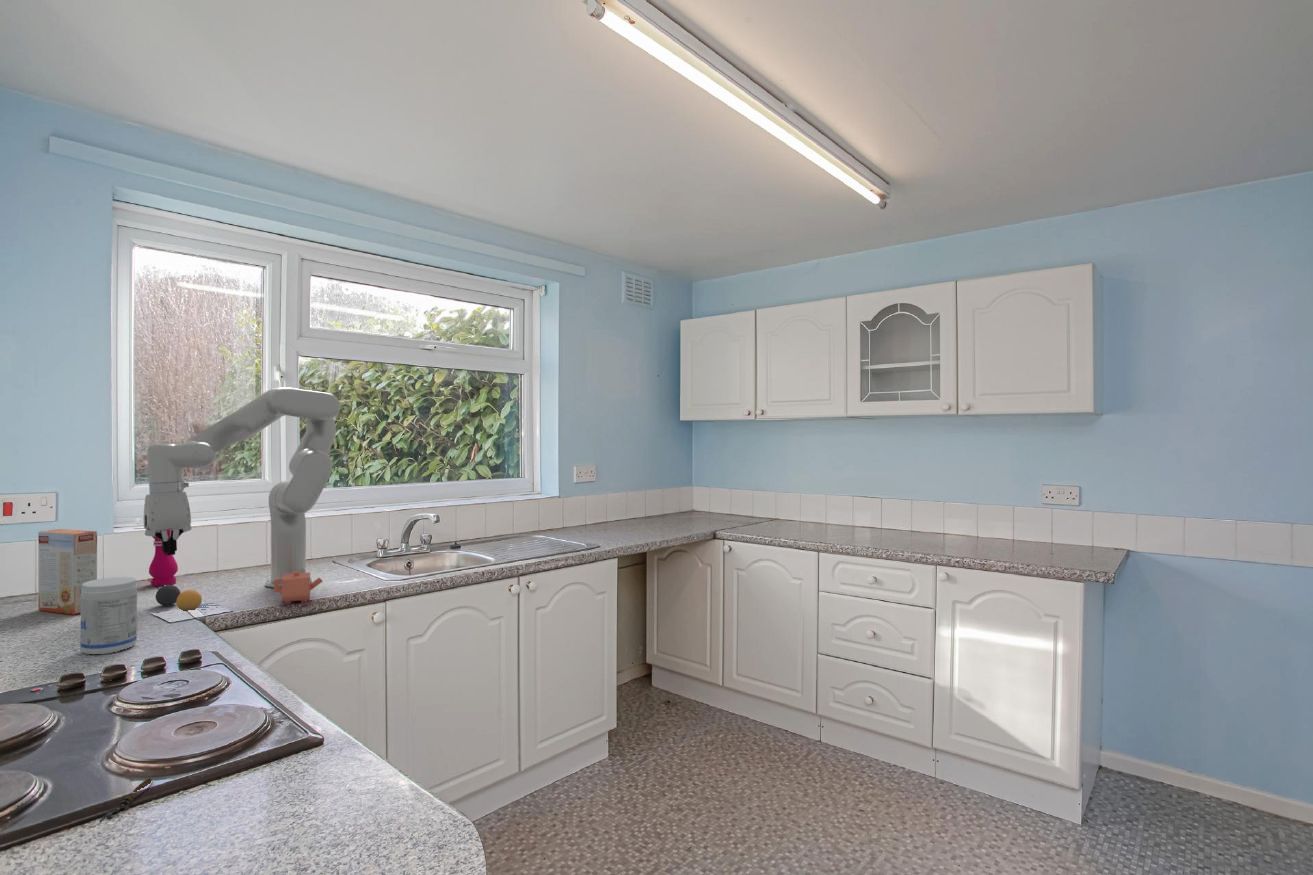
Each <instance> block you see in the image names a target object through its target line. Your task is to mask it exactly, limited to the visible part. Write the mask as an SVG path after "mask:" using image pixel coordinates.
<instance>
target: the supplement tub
mask: <svg viewBox="0 0 1313 875" xmlns="http://www.w3.org/2000/svg"><path fill="white" fill-rule="evenodd" d="M137 586H138V585H137V579H136V578H135V577H130V576H128V577H127V576H116V577H115V576H114V577H103V578H97V580H92V581H88V582H85V583H83V584H82V590H81V613H80V651H81V653H83V654H84V655H89V654H93V655H92V656H95V655H94V654H101V655H108V654H113V652H115V653H119V652H121V651H120V650H123V649H126V650H128V649H127V648H129V647H131V648H133V647H134V646H135V645H136V643H137V640H138V639H137V638H138V637H137V632H138V587H137ZM133 645H134V646H133ZM132 646H133V647H132ZM129 649H130V648H129ZM118 651H119V652H118ZM123 651H124V650H123Z"/></svg>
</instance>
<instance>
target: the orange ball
mask: <svg viewBox="0 0 1313 875" xmlns="http://www.w3.org/2000/svg"><path fill="white" fill-rule="evenodd" d="M180 593H181V594H180V595H179V596H178V597H177V600H176V603H175V604H176V606H177V609H178V608H179V609H181V610H183V611H188V610H195V609H196V608H198V607H199V606H200V605H201V604H202V601H203V599H202V595H201V593H200V592H199V591H197V590H194V589H187V590H183V591H182V592H180Z"/></svg>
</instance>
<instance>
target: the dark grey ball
mask: <svg viewBox="0 0 1313 875" xmlns="http://www.w3.org/2000/svg"><path fill="white" fill-rule="evenodd" d="M181 593H182V592H181V590H180V588H179V587H178V586H176V585H175V584H172V585H166V586H160V587H159V589H157V591H156V593H155V600H156V602H157V603H158V605H161V606H164V607H165V606H166V607H169V606H168V605H170V606H172V604H173V605H175V604H176V600H177V597H178V596H179V595H180V594H181Z"/></svg>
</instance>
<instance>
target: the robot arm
mask: <svg viewBox="0 0 1313 875" xmlns="http://www.w3.org/2000/svg"><path fill="white" fill-rule="evenodd" d="M340 411H341V402H340V400H339V398H337V397H336V396H335V395H333V393H329V392H322V391H315V390H307V389H300V388H294V387H286V386H284V387H273V388H270V389H269V390H267V391H265V392H264V393H262V394H260V395H258V396H257V397H256V398H254V399H252V400H251V401H249V402H248V403H246V404H244V405H243V406H241V407H240V408H239V409H236V410H235V411H233V412H232V413H231V414H228V415H227V416H225V417H223V418H222V419H220V420H218V422H216V423H214V424H212V425H210V426H209V427H207V428H205V429H203V430H201V431H200V432H199V433H197V434H195V435H194V436H192V437H190V438H189V439H187V440H186V441H185V442H183V443H181V444H180V443H179V444H177V443H157V444H156V443H155V444H151V445H149V446H148V447H147V451H146V453H147V468H148V469H147V470H148V471H147V472H148V488H149V494H145V499H144V505H143V528H144V529H145V531H144V535H145V536H147V537H152V536H156V537H157V538H159V539H160V540H162V551H163V553H165V555H168V556H169V555H173V556H175V555H176V551H177V550H178V541H177V540H178V539H179V537H180V536H181V535H182V534H183V533H186V532H189V531H191V530H192V525H191V524H192V516H191V514H192V513H191V508H190V504H189V499H188V495H187V492H186V491H185V489H186V488H189V487H190V486H189V482H185V481H184V480H183V468H184V469H204V468H207V467H209V466H211V465H212V464H213V463H214V462H215V461H216V458H217V454H218V453H219V452H221V451H223V450H224V449H226V448H227V447H229V446H232V445H234V444H237V443H239V442H243V441H245V440H248V439H250V438H252V437H254V436H255V435H257V434H259V433H260V432H262V431H263V430H264V429H266V428H267V427H268V426H270V425H272V424H273V423H274V422H276V421H278V420H279V419H281V418H282V417H285V416H288V417H295V418H296V417H297V418H303V419H305V422H306V423H305V424H306V430H305V433H304V434H303V437H302V439H301V441H300V443H299V445H298V446H297V448H296V451H295V452H294V454H293V456H292V457H291V459H290V461H289V465H288V468H289V472H290V474H291V475H292V477H291V479H290V480H283V481H280V482H278V483H276V484H275V485H274V486H272V488H271V489H270V492H269V493H268V494H269V495H268V509H269V515H270V516H269V517H270V578H269V579H267V580H265V582H264V586H265V587H267V588H274V580H275V579H279V578H283V575H284V574H293V572H295V571H300V573H307V563H306V562H307V523H306V522H307V521H306V513H308V512H309V511H311V509H312V508H313V507H314V506H315V504H316V503H317V502H318V499H319V498H320V497H321V494H322V492H323V490H324V488H325V486H326V484H327V483H328V480H329V479H330V477H331V474H332V470H333V461H332V458H331V457H330V455H328V454H329V453H330V451H331V450H330V449H331V448H332V446H333V445H334V444H333V443H334V441H335V438H336V434H337V429H336V428H337V427H336V422H335V418H336V417H337V416H338V415H339V413H340ZM170 529H171V531H170V538H168V535H167V531H166V530H170ZM153 531H158V532H153ZM311 582H312V577H311V576H310V583H311ZM278 584H279V588H282V581H281V582H278Z"/></svg>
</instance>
